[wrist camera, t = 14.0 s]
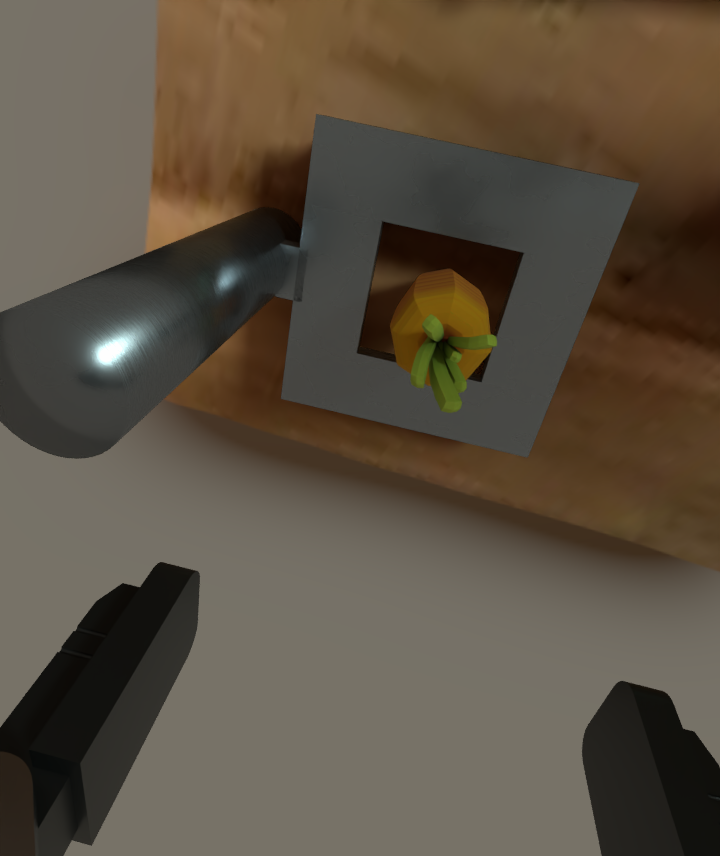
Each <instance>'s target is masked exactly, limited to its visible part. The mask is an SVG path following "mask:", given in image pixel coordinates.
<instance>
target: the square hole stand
mask: <svg viewBox="0 0 720 856" xmlns="http://www.w3.org/2000/svg"><path fill="white" fill-rule="evenodd" d="M638 186H639V183H636V182H632V181H627V180H623V179H618V178H614V177H609V176H604V175H600V174H595V173H590V172H586V171H581V170H576V169H572V168H567V167H562V166H558V165H553V164H548V163H544V162H539V161H534V160H530V159H525V158H520V157H516V156H511V155H506V154H502V153H497V152H492V151H488V150H483V149H478V148H474V147H469V146H465V145H460V144H455V143H451V142H446V141H441V140H437V139H432V138H427V137H423V136H418V135H413V134H409V133H404V132H399V131H395V130H390V129H385V128H381V127H376V126H371V125H367V124H362V123H357V122H353V121H348V120H343V119H339V118H334V117H329V116H325V115H319V114H316V120H315V128H314V136H313V144H312V152H311V160H310V168H309V176H308V185H307V193H306V201H305V209H304V217H303V225H302V230H301V229H300V227H299V225H298V224H297V223H296V221H295V220H294V219H293V218H292V217H290V216H289V215H288V214H286V213H285V212H283V211H281V210H278V209H275V208H270V207H263V208H258V209H255V210H252V211H250V212H247V213H245V214H242V215H240V216H237V217H235V218H232V219H230V220H227V221H225V222H222V223H220V224H218V225H215V226H213V227H210V228H208V229H205V230H203V231H200V232H198V233H195V234H193V235H190V236H188V237H185V238H183V239H181V240H178V241H176V242H173V243H171V244H168V245H166V246H163V247H161V248H158V249H156V250H153V251H151V252H148V253H146V254H143V255H141V256H139V257H136V258H134V259H131V260H129V261H126V262H124V263H121V264H119V265H117V266H114V267H111V268H109V269H106V270H104V271H101V272H99V273H97V274H94V275H92V276H89V277H87V278H84V279H82V280H79V281H77V282H75V283H72V284H69V285H67V286H64V287H62V288H60V289H57V290H55V291H52V292H50V293H47V294H45V295H42V296H40V297H37V298H35V299H32V300H30V301H27V302H25V303H22V304H20V305H18V306H15V307H13V308H10V309H8V310H5V311H3V312H0V421H1V422H2V423H3V424H4V425H5V426H6V427H7V428H8V429H9V430H10V431H11V432H12V433H14V434H15V435H16V436H18V437H19V438H20V439H22V440H23V441H25V442H27V443H28V444H30V445H31V446H33V447H35V448H37V449H39V450H42V451H44V452H47V453H49V454H53V455H56V456H60V457H65V458H88V457H93V456H96V455H99V454H101V453H103V452H105V451H107V450H108V449H110V448H111V447H112V446H113V445H115V444H116V443H117V442H118V441H119V440H120V439H121V438H122V437H123V436H124V435H125V434H126V433H128V432H129V431H130V430H131V429H132V428H133V427H134V426H135V425H136V424H137V423H138V422H139V421H140V420H141V419H143V418H144V417H145V416H146V415H147V414H148V413H149V412H150V411H151V410H152V409H153V408H154V407H155V406H157V405H158V404H159V403H160V402H161V401H162V400H163V399H164V398H165V397H166V396H167V395H168V394H170V393H171V392H172V391H173V390H174V389H175V388H176V387H177V386H178V385H179V384H180V383H181V382H182V381H184V380H185V379H186V378H187V377H188V376H189V375H190V374H191V373H192V372H193V371H194V370H195V369H196V368H198V367H199V366H200V365H201V364H202V363H203V362H204V361H205V360H206V359H207V358H208V357H209V356H210V355H212V354H213V353H214V352H215V351H216V350H217V349H218V348H219V347H220V346H221V345H222V344H223V343H224V342H226V341H227V340H228V339H229V338H230V337H231V336H232V335H233V334H234V333H235V332H236V331H237V330H238V329H240V328H241V327H242V326H243V325H244V324H245V323H246V322H247V321H248V320H249V319H250V318H251V317H252V316H254V315H255V314H256V313H257V312H258V311H259V310H260V309H261V308H262V307H263V306H264V305H265V304H266V303H268V302H269V301H270V300H271V299H272V298H273V297H274V296H276V297H280V298H284V299H289V300H293V305H292V313H291V321H290V329H289V337H288V345H287V353H286V362H285V370H284V378H283V386H282V394H281V399H284V400H288V401H292V402H297V403H301V404H305V405H309V406H313V407H318V408H322V409H326V410H330V411H334V412H339V413H343V414H347V415H351V416H355V417H360V418H364V419H368V420H372V421H376V422H381V423H385V424H389V425H393V426H397V427H402V428H406V429H410V430H414V431H418V432H423V433H427V434H431V435H435V436H439V437H444V438H448V439H452V440H456V441H460V442H465V443H469V444H473V445H477V446H481V447H486V448H490V449H494V450H498V451H502V452H507V453H511V454H515V455H519V456H523V457H528V456H529V453H530V451H531V448H532V446H533V443H534V441H535V438H536V436H537V433H538V431H539V429H540V426H541V424H542V421H543V419H544V416H545V414H546V411H547V409H548V406H549V404H550V402H551V399H552V397H553V394H554V392H555V389H556V387H557V384H558V382H559V380H560V377H561V375H562V372H563V370H564V367H565V365H566V362H567V360H568V357H569V355H570V353H571V350H572V348H573V345H574V343H575V340H576V338H577V335H578V333H579V330H580V328H581V326H582V323H583V321H584V318H585V316H586V313H587V311H588V308H589V306H590V303H591V301H592V299H593V296H594V294H595V291H596V289H597V286H598V284H599V281H600V279H601V276H602V274H603V272H604V269H605V267H606V264H607V262H608V259H609V257H610V254H611V252H612V249H613V247H614V245H615V242H616V240H617V237H618V235H619V232H620V230H621V227H622V225H623V222H624V220H625V218H626V215H627V213H628V210H629V208H630V205H631V203H632V200H633V198H634V195H635V193H636V191H637V188H638ZM384 222H388V223H392V224H397V225H401V226H406V227H410V228H415V229H419V230H424V231H428V232H433V233H437V234H442V235H446V236H451V237H455V238H460V239H464V240H469V241H473V242H478V243H482V244H487V245H491V246H496V247H500V248H505V249H509V250H514V251H518V252H520V255H519V258H518V261H517V264H516V267H515V270H514V273H513V277H512V280H511V283H510V286H509V289H508V292H507V295H506V298H505V301H504V304H503V307H502V310H501V313H500V317H499V320H498V323H497V326H496V329H495V332H494V336H496V339H497V346H496V347H492V351H491V352H490V353H489V354H488V356H487V357H486V360H485V363H484V366H483V369H482V372H481V374H476V373H472V374H471V375H470V377H469V378H468V379H467V380H466V382H467V389H466V390H465V391H464V392H461V393H458V394H459V396H460V398H461V401H462V405H461V408H460V409H459V410H458V411H457V412H453V413H447V412H443V411H441V410H440V407H439V405H438V403H437V401H436V399H435V396H434V393H433V390H432V387H431V386H427V385H426V384H424V388H417V387H415V386H413V385H411V381H410V378H411V374H410V373H408V372H407V371H405V370H404V369H402V368H401V367H400V366H398V365H397V362H396V356H395V355H394V354H390V353H386V352H382V351H377V350H373V349H369V348H364V347H360V342H361V336H362V331H363V326H364V321H365V316H366V311H367V306H368V301H369V296H370V291H371V285H372V280H373V275H374V270H375V265H376V260H377V255H378V250H379V245H380V239H381V234H382V229H383V224H384Z"/></svg>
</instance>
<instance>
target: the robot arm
mask: <svg viewBox="0 0 720 856" xmlns="http://www.w3.org/2000/svg"><path fill="white" fill-rule="evenodd" d="M199 584H200V575H199V572H198V571H195V570H191V569H186V568H182V567H179V566H175V565H171V564H167V563H163V562H160V563H158V564H157V565H156V566H155V567H154V568H153V570H152V571H151V572H150V574H149V575H148V577H147V578H146V580H145V581H144V582H143V584H142V585H141V587H136V586H132V585H128V584H124V583H122V584H121V585H120V586H118V587H116V588H115V589H114V590H112V591H111V592H109V593H108V594H106V595H105V596H103V597H102V598H100V599H99V600H98V601H96V603H95V604H94V605H93V606H92V608H91V609H90V610H89V612H88V613H87V614H86V616H85V617H84V618H83V620H82V621H81V622H80V624H79V625H78V627H77V630H76V631H73V633H72V634H71V635H70V637H69V638H68V639H67V640H66V642H65V643H64V644H63V646H62V649H61V651H60V652H57V654H56V655H55V656H54V658H53V659H52V660H51V662H50V663H49V664H48V666H47V667H46V668H45V669H44V671H43V672H42V673H41V675H40V676H39V677H38V679H37V680H36V681H35V683H34V684H33V685H32V687H31V688H30V689H29V690H28V692H27V693H26V694H25V696H24V697H23V699H22V700H21V701H20V703H19V704H18V705H17V706H16V708H15V709H14V710H13V711H12V713H11V714H10V715H9V717H8V718H7V719H6V721H5V722H4V723H3V725H2V726H1V727H0V856H63V855H64V853H65V852H66V849H67V848H68V846H69V844H70V842H71V840H74V841H77V842H81V843H84V844H88V845H92V844H93V842H94V839H95V838H96V836H97V834H98V832H99V830H100V828H101V826H102V824H103V822H104V820H105V818H106V816H107V814H108V812H109V810H110V808H111V807H112V805H113V802H114V801H115V799H116V797H117V795H118V793H119V791H120V789H121V787H122V785H123V783H124V781H125V779H126V777H127V775H128V773H129V771H130V769H131V767H132V765H133V763H134V761H135V759H136V757H137V755H138V753H139V751H140V749H141V747H142V745H143V744H144V741H145V740H146V738H147V735H148V734H149V732H150V730H151V728H152V726H153V724H154V722H155V720H156V718H157V716H158V714H159V712H160V710H161V708H162V706H163V704H164V702H165V700H166V698H167V696H168V694H169V692H170V690H171V688H172V686H173V684H174V682H175V680H176V679H177V676H178V675H179V673H180V671H181V669H182V667H183V665H184V663H185V661H186V659H187V657H188V655H189V652H190V650H191V647H192V644H193V641H194V638H195V634H196V630H197V623H198V604H199ZM582 757H583V765H584V770H585V775H586V780H587V785H588V790H589V795H590V800H591V805H592V810H593V814H594V820H595V824H596V829H597V834H598V839H599V844H600V849H601V854H602V856H720V767H719V765H718V763H717V762H716V761H715V759H714V758H713V757H712V755H711V754H710V753H709V751H708V750H707V748H706V747H705V746H704V744H703V743H702V742H701V740H700V739H699V737H698V736H697V735H696V733H695V732H693V731H689V730H685V729H683V728H682V725H681V722H680V720H679V717H678V714H677V712H676V709H675V706H674V704H673V702H672V700H671V698H670V697H669V696H668V694H667V693H665V692H663V691H660V690H656V689H652V688H648V687H644V686H640V685H636V684H632V683H628V682H625V681H620V682H618V683H617V684H616V685H615V686H614V687H613V689H612V690H611V692H610V693H609V695H608V696H607V698H606V699H605V701H604V702H603V704H602V705H601V706H600V708H599V709H598V711H597V713H596V714H595V715H594V717H593V718H592V720H591V721H590V723H589V724H588V726H587V728H586V730H585V733H584V738H583V747H582Z"/></svg>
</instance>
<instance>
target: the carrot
mask: <svg viewBox="0 0 720 856" xmlns="http://www.w3.org/2000/svg"><path fill="white" fill-rule="evenodd" d="M390 329H391V334H392V340H393V345H394V351H395V356H396V362H397V365H398V366H400V367H401V368H402V369H404V370H405V371H407V372H408V373H410V374H411V378H410V381H411V385H413V386H415V387H417V388H424V384H426V385H427V386H431V387H432V390H433V393H434V396H435V399H436V401H437V403H438V405H439V407H440V410H441V411H443V412H447V413H453V412H457V411H458V410H459V409H460V408H461V405H462V401H461V398H460V396H459V394H458V393H461V392H464V391H465V390H466V389H467V382H466V380H467V379H468V378H469V377H470V375H471V374H472V373H473V372H474V371H475V370H476V368H477V367H478V366H479V365H480V364H481V363H482V361H483V360H484V359H485V358H486V357H487V356H488V354H489V353H490V352H491V351H492V347H496V346H497V339H496V336H494V335H491V333H490V323H489V313H488V307H487V304H486V302H485V299H484V297H483V295H482V293H481V291H480V290H479V289H478V288H476V287H475V286H474V285H472V284H471V283H470V282H468V281H467V280H466V279H464V278H463V277H461V276H460V275H459V274H457V273H456V272H455V271H453V270H452V269H450V268H448V269H442V270H436V271H431V272H425V273H422V274H420V275H419V276H418V277H417V278H416V280H415V281H414V283H413V284H412V285H411V287H410V288H409V289H408V291H407V292H406V294H405V295H404V296H403V298H402V299H401V301H400V302H399V303H398V305H397V308H396V310H395V312H394V314H393V317H392V320H391V323H390Z"/></svg>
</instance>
